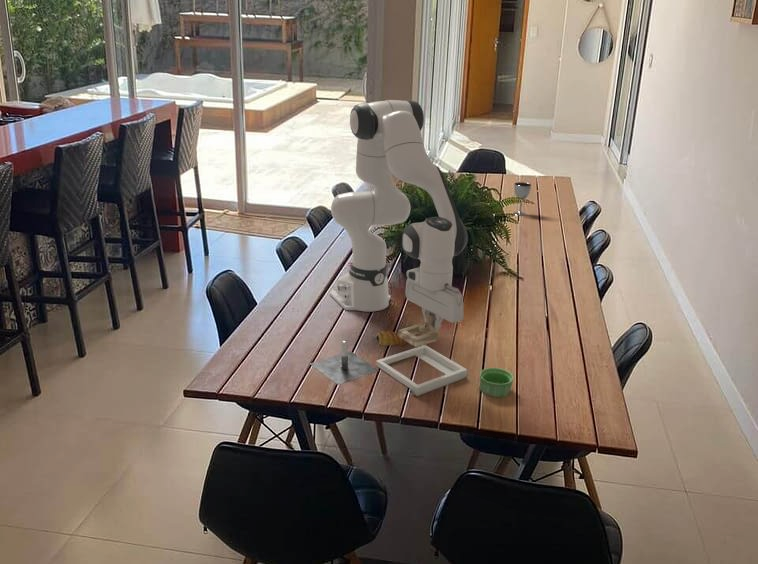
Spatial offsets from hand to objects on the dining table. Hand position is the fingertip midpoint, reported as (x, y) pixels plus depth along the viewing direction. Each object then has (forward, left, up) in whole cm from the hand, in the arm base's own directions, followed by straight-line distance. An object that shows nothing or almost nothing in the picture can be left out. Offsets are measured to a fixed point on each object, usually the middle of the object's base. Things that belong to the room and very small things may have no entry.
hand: (432, 325), depth 194 cm
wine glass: (-97, +143, -14) cm, 173 cm away
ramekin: (+18, +8, -14) cm, 24 cm away
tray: (0, -3, -14) cm, 14 cm away
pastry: (-20, +1, -14) cm, 25 cm away
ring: (0, -4, -3) cm, 5 cm away
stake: (-13, -20, -14) cm, 28 cm away
